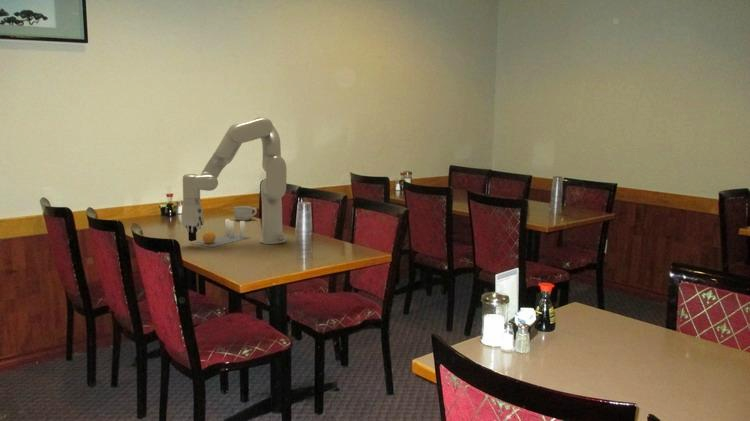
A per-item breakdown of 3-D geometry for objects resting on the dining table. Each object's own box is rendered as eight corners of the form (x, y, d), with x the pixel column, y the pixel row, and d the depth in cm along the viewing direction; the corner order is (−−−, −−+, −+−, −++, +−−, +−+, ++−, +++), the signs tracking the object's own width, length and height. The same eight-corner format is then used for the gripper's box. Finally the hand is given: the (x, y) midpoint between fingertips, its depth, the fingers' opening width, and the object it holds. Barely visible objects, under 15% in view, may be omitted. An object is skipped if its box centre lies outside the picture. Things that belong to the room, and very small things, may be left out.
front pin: (235, 237, 293) (234, 221, 292) (231, 238, 291) (231, 221, 290) (231, 237, 294) (231, 220, 293) (228, 238, 292) (227, 221, 291)
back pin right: (231, 235, 298) (231, 219, 296) (228, 236, 296) (227, 220, 294) (228, 235, 299) (227, 218, 297) (224, 236, 297) (224, 219, 295)
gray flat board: (250, 237, 294) (250, 237, 294) (212, 247, 272) (212, 246, 272) (230, 234, 301) (230, 234, 301) (190, 243, 279) (190, 243, 279)
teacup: (230, 220, 339) (229, 207, 338) (242, 217, 349) (242, 204, 347) (248, 223, 333) (248, 209, 331) (261, 220, 342) (260, 206, 341)
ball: (218, 243, 281) (218, 230, 280) (209, 245, 276) (208, 232, 275) (209, 241, 284) (209, 229, 283) (199, 243, 279) (199, 231, 278)
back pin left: (246, 238, 293) (245, 221, 291) (242, 239, 291) (242, 222, 289) (242, 237, 294) (242, 220, 292) (239, 238, 292) (238, 221, 290)
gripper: (209, 202, 268) (210, 241, 270) (186, 198, 275) (187, 237, 278) (197, 203, 261) (197, 244, 264) (173, 200, 269) (174, 239, 272)
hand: (192, 240), depth 271 cm, fingers closed
